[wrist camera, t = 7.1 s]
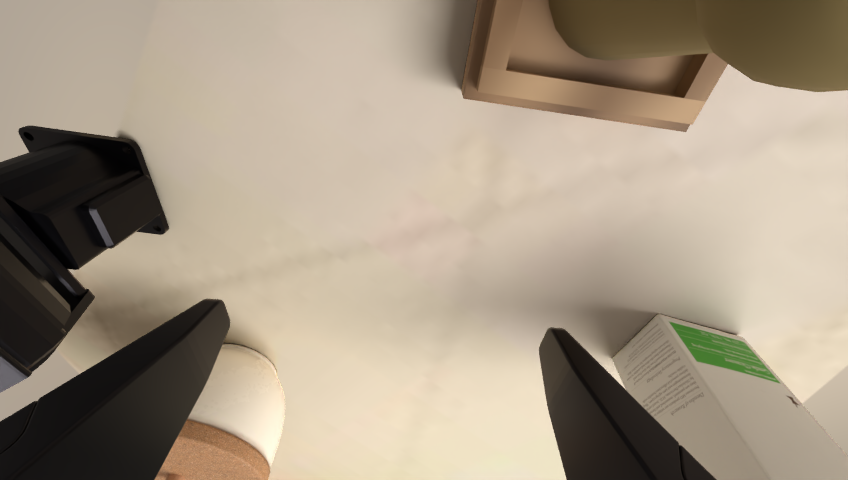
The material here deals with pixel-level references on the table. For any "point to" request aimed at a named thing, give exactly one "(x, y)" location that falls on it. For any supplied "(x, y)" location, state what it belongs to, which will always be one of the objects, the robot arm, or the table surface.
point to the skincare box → (726, 404)
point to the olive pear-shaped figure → (718, 35)
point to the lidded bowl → (231, 422)
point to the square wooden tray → (578, 72)
